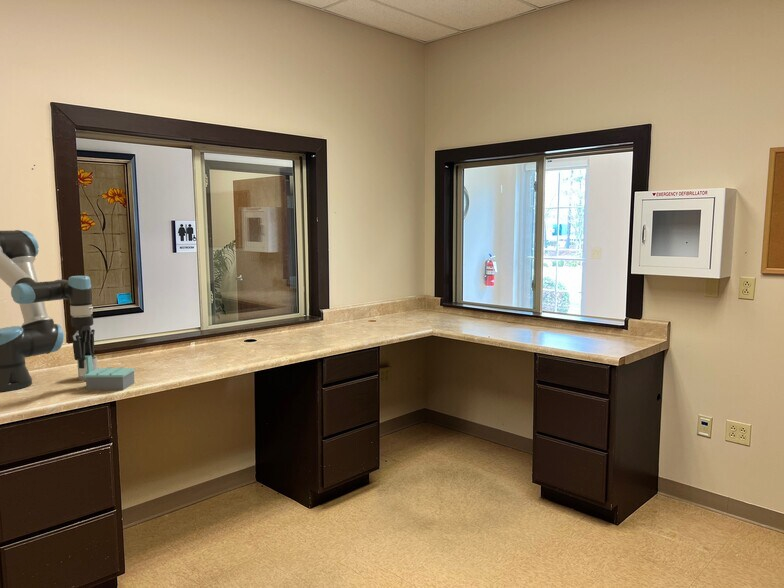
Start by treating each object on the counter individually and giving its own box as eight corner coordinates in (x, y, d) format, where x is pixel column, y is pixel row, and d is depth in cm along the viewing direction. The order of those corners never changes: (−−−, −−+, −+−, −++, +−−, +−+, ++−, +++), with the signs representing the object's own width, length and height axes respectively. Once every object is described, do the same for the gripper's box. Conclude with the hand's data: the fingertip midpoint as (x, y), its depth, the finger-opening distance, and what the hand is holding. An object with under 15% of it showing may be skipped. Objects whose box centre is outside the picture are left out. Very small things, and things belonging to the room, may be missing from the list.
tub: (86, 392, 217) (85, 377, 216) (99, 385, 227) (98, 370, 226) (123, 392, 217) (122, 376, 217) (134, 384, 227) (133, 370, 227)
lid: (73, 377, 216) (71, 359, 215) (87, 370, 227) (86, 353, 226) (123, 377, 216) (122, 359, 215) (135, 369, 227) (134, 352, 226)
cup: (95, 376, 241) (93, 355, 240) (102, 380, 234) (101, 359, 233) (76, 379, 236) (75, 358, 235) (83, 384, 229) (81, 362, 228)
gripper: (80, 319, 211) (85, 380, 213) (101, 312, 227) (105, 369, 229) (60, 319, 211) (64, 380, 213) (82, 312, 226) (86, 369, 229)
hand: (85, 374), depth 221 cm, fingers closed on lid, 3 cm apart
